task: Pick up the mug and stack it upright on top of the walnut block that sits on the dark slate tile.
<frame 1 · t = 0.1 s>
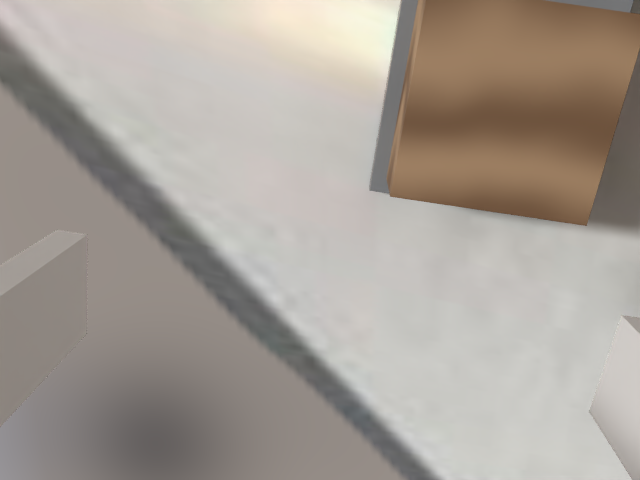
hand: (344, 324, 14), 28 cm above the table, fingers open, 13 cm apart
slate tile: (495, 70, 39), on the table
walnut block: (492, 103, 38), point 1 cm above the table, touching slate tile
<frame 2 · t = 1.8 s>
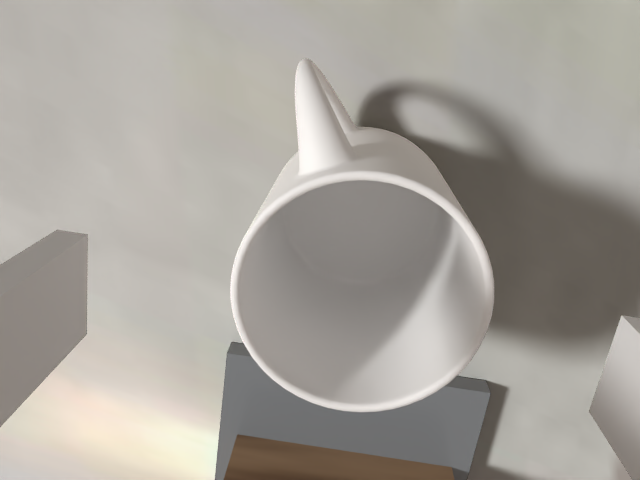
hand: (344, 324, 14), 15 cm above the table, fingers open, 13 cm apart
mug: (350, 176, 29), on the table
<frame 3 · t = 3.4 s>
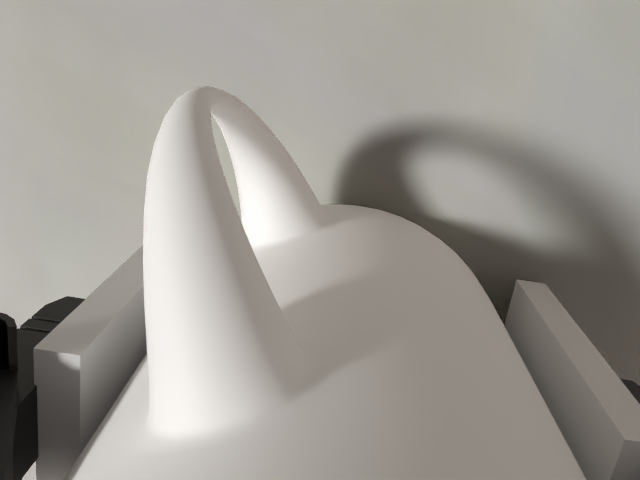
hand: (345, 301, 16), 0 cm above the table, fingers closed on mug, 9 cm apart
mug: (321, 285, 16), on the table, touching gripper
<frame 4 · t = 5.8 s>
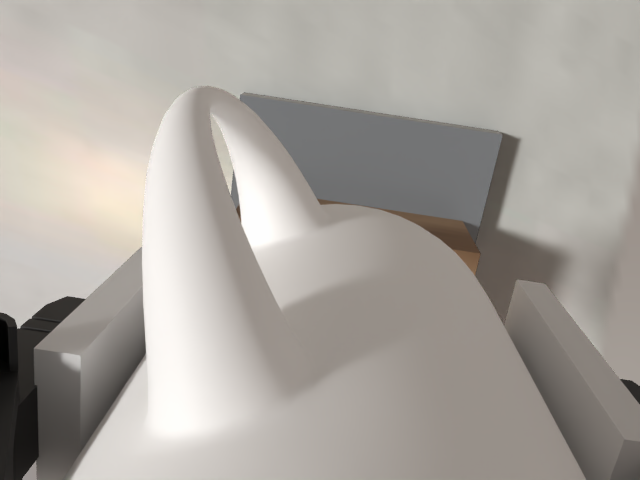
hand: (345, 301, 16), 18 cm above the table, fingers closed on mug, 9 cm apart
mug: (321, 285, 16), point 18 cm above the table, touching gripper
slate tile: (345, 262, 35), on the table
walnut block: (339, 300, 35), point 1 cm above the table, touching slate tile
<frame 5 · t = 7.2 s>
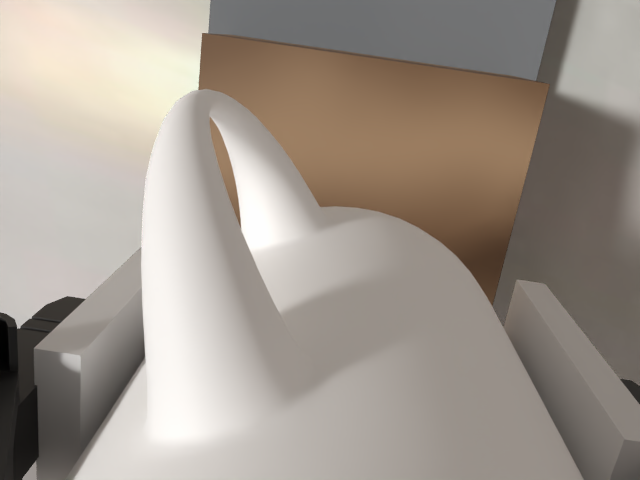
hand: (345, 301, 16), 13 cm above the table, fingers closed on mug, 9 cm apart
mug: (321, 287, 16), point 12 cm above the table, touching gripper
slate tile: (357, 144, 27), on the table
walnut block: (350, 191, 27), point 1 cm above the table, touching slate tile
when the fingers open (9 cm above the table, at t = 8.3 s): mug drops 2 cm, resting on walnut block.
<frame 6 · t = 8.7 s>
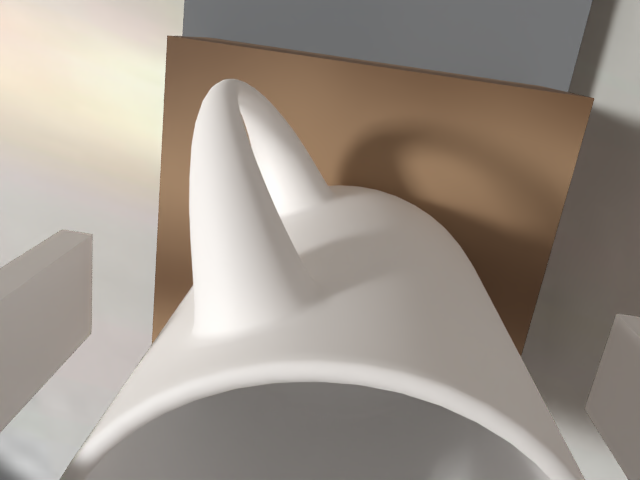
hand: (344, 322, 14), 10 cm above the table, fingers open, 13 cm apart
mug: (326, 259, 18), point 6 cm above the table, touching walnut block
slate tile: (357, 164, 23), on the table
walnut block: (349, 219, 23), point 1 cm above the table, touching mug, slate tile
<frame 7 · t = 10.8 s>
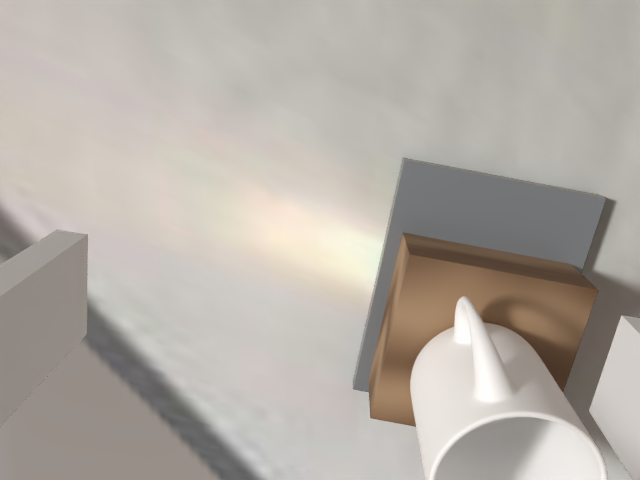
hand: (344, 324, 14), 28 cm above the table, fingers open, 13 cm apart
mug: (468, 353, 38), point 6 cm above the table, touching walnut block
slate tile: (468, 293, 44), on the table
walnut block: (465, 324, 43), point 1 cm above the table, touching mug, slate tile
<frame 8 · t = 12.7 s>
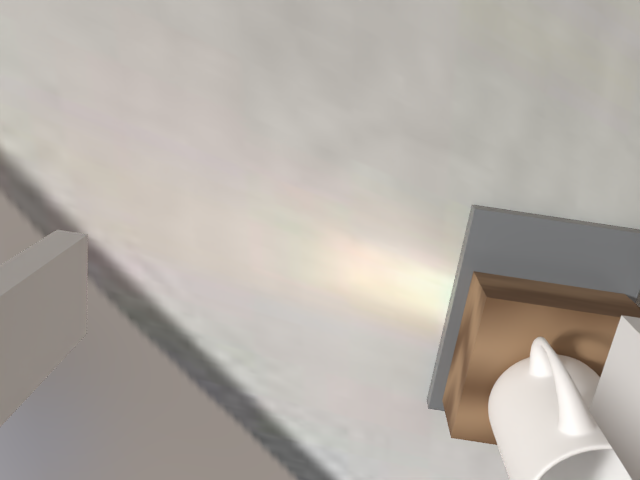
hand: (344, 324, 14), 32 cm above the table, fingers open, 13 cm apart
mug: (539, 379, 43), point 6 cm above the table, touching walnut block
slate tile: (531, 321, 48), on the table
walnut block: (529, 349, 48), point 1 cm above the table, touching mug, slate tile
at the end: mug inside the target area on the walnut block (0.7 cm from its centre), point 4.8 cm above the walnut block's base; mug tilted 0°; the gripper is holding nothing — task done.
